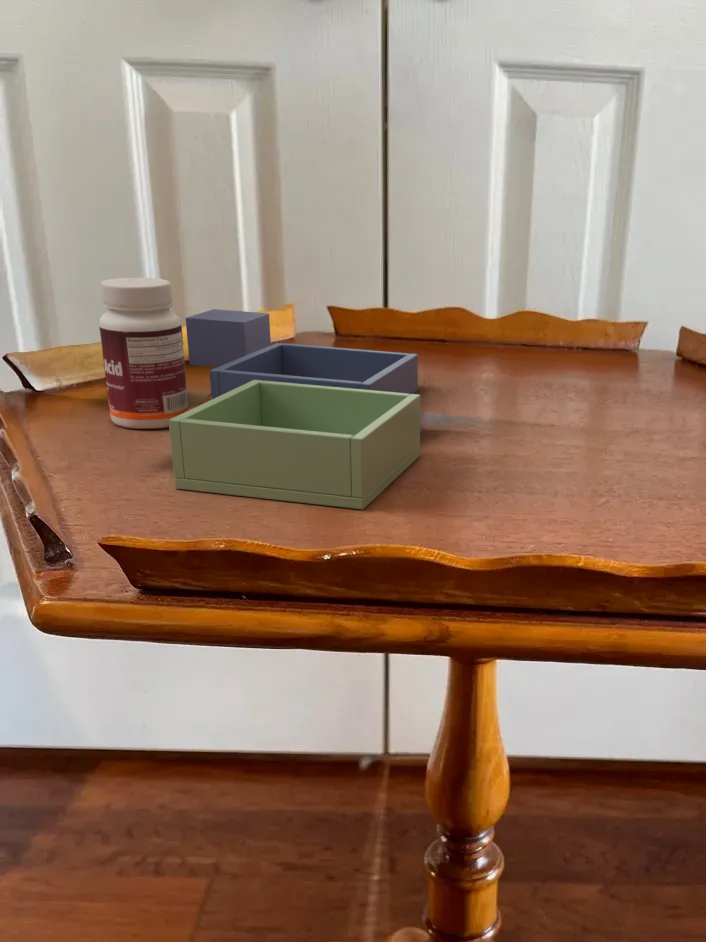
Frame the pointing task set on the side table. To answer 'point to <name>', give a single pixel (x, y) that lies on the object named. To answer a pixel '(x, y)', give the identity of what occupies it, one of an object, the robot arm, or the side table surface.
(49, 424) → the side table surface
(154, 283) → the pill bottle
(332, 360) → the bin blue
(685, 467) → the side table surface
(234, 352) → the block
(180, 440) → the bin green
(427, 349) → the side table surface
